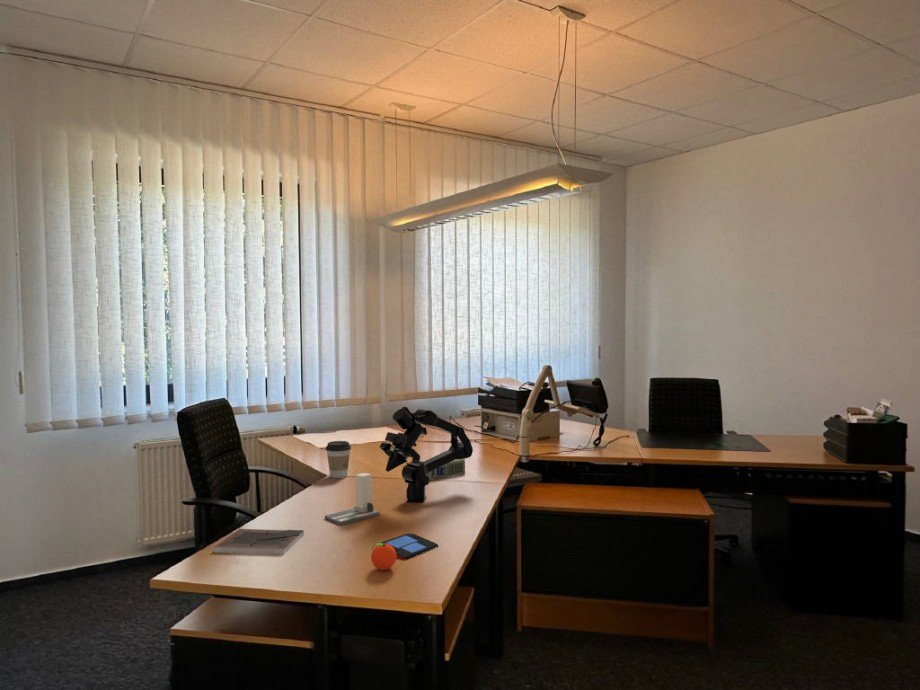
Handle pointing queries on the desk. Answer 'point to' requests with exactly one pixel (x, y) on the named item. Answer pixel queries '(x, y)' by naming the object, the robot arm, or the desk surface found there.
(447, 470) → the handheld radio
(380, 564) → the clementine
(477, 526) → the desk surface
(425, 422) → the robot arm
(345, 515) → the board
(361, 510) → the white tall block
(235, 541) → the picture frame
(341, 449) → the coffee cup
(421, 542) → the game console
